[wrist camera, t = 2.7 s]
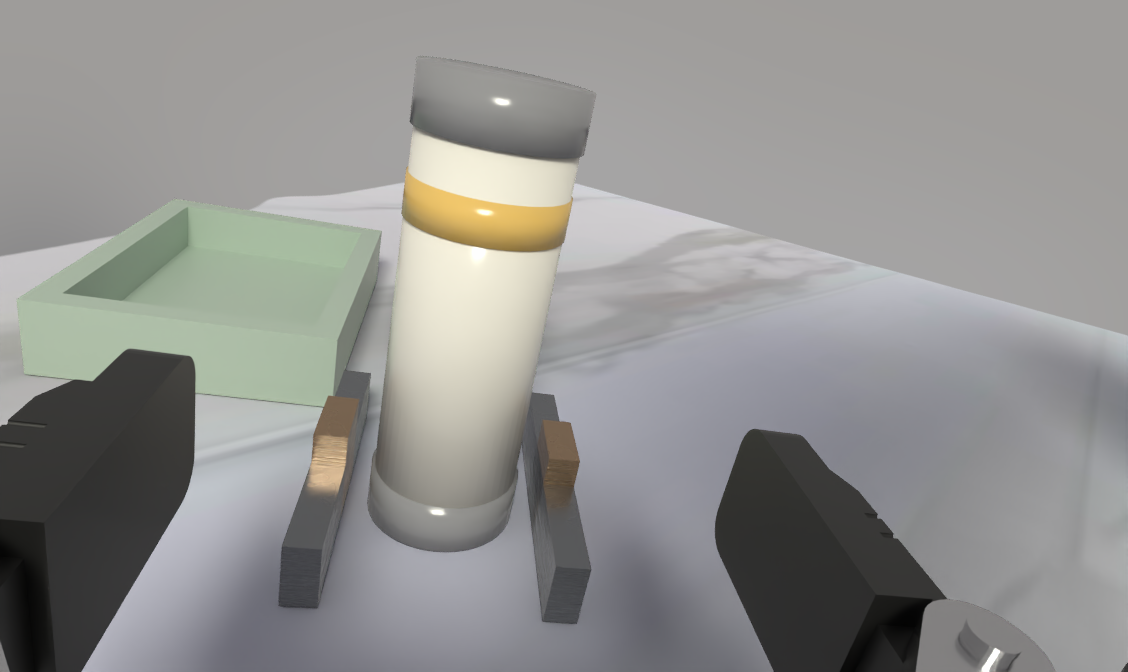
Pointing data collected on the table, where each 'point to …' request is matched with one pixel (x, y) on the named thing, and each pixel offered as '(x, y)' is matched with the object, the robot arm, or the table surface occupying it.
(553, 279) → the cylinder
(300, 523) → the clip rails
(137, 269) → the tray
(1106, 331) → the table surface
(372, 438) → the table surface
